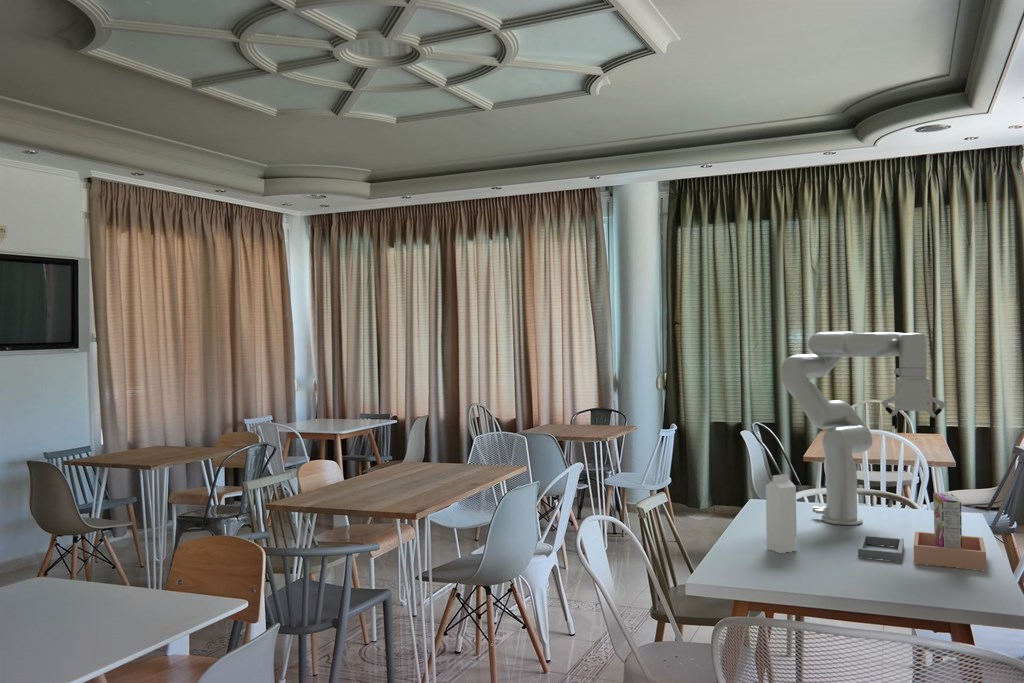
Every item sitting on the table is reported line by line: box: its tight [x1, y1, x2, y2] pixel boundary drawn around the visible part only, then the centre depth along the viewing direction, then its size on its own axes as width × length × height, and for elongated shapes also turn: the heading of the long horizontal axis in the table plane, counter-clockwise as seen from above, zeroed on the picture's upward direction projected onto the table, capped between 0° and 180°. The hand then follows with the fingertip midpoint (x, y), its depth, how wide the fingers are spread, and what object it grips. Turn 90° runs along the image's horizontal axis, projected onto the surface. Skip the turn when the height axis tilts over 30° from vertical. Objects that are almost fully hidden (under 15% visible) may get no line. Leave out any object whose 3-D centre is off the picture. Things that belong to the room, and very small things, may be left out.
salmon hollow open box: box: [913, 531, 987, 572], centre depth 223 cm, size 17×17×5 cm
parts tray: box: [857, 534, 905, 563], centre depth 231 cm, size 11×17×2 cm, turn 152°
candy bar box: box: [932, 492, 963, 549], centre depth 223 cm, size 11×5×16 cm, turn 164°
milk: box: [765, 473, 798, 554], centre depth 235 cm, size 6×6×22 cm
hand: (913, 429), depth 246 cm, fingers open, 9 cm apart
